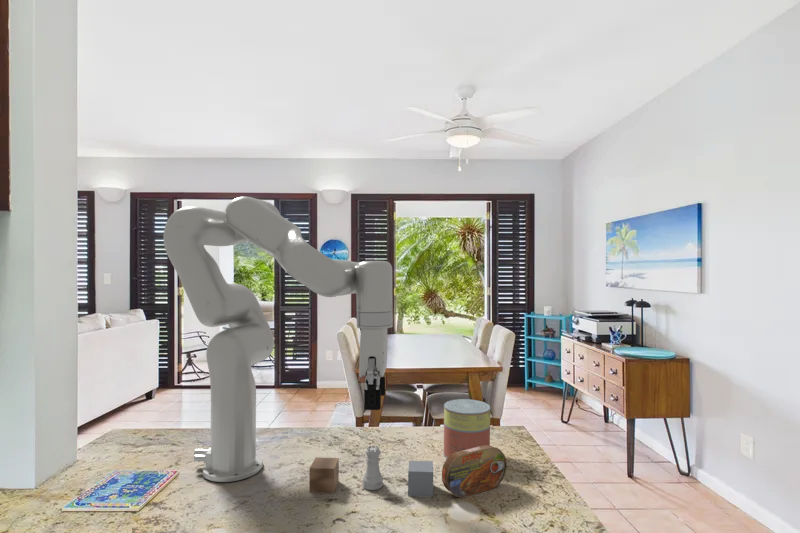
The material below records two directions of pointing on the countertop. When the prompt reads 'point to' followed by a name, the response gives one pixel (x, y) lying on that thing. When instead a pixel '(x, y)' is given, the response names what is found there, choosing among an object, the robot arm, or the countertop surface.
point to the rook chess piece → (372, 469)
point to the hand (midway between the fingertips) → (375, 402)
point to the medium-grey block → (420, 478)
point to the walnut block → (324, 475)
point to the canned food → (465, 425)
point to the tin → (474, 470)
